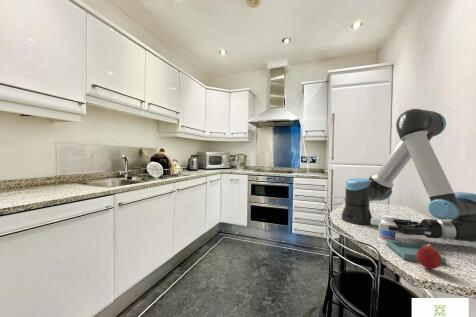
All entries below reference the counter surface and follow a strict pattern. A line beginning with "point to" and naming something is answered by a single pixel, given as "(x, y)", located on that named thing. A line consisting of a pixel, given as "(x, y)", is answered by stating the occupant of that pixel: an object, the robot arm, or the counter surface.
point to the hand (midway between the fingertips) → (375, 223)
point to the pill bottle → (387, 234)
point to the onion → (428, 257)
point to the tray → (408, 250)
